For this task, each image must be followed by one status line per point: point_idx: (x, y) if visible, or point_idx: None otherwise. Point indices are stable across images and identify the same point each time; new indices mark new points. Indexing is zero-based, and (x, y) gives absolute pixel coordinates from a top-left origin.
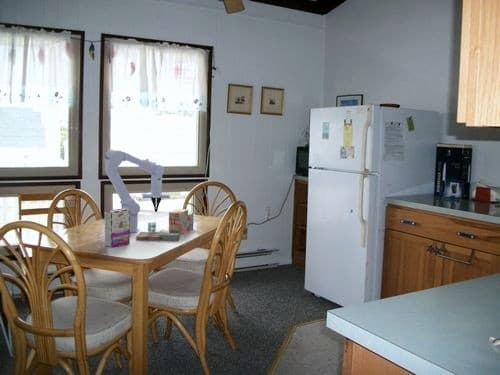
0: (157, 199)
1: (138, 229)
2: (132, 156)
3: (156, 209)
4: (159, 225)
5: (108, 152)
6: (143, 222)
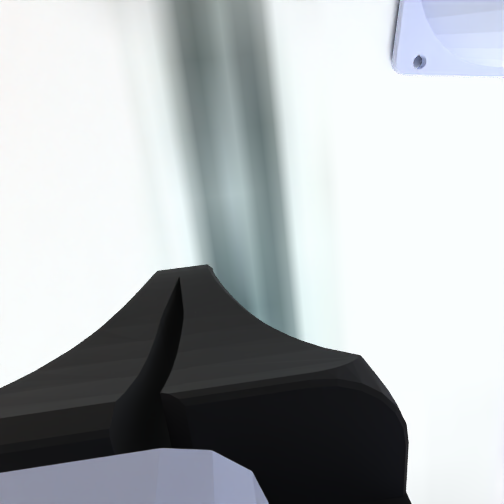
0: (52, 426)
1: (405, 13)
2: None
3: (167, 280)
4: None
5: None
6: None
